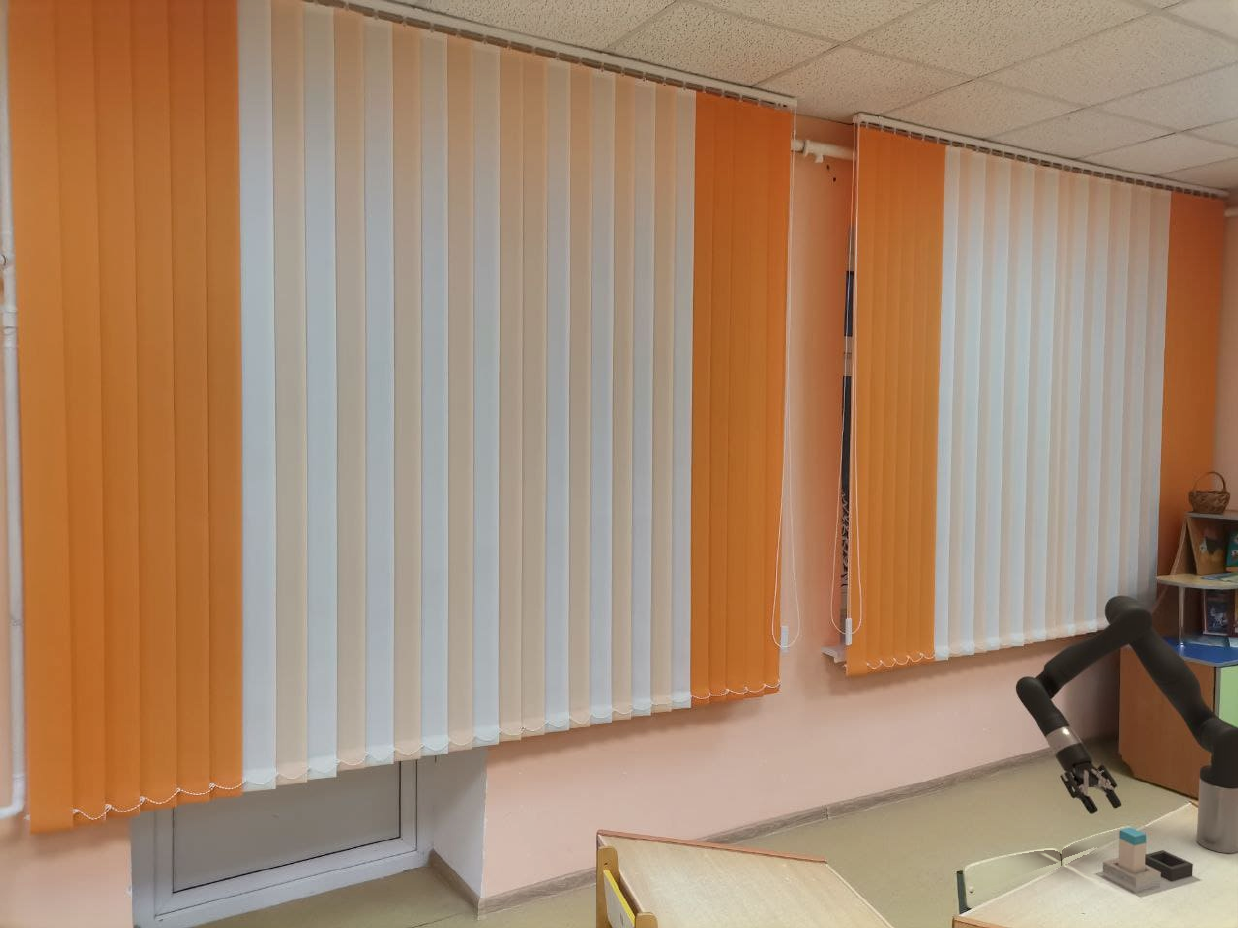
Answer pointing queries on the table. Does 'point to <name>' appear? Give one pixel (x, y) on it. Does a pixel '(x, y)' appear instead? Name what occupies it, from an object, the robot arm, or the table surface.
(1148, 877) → the port
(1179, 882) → the panel
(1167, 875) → the dark grey square socket
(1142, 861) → the plug
